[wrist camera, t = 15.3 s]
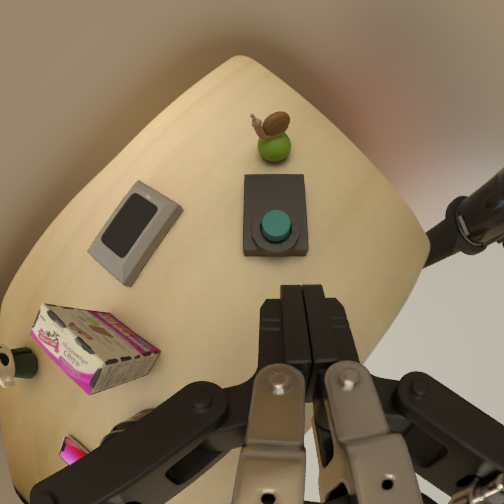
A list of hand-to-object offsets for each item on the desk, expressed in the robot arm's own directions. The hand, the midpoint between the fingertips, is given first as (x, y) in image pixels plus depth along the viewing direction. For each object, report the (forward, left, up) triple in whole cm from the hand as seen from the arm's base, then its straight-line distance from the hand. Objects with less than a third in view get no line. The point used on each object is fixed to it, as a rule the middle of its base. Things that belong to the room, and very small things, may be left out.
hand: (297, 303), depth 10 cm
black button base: (+9, -13, -30) cm, 34 cm away
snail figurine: (+15, -22, -30) cm, 40 cm away
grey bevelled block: (+26, +2, -30) cm, 40 cm away
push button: (+7, -10, -25) cm, 28 cm away
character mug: (+32, +37, -30) cm, 57 cm away
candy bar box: (+16, +17, -30) cm, 38 cm away
